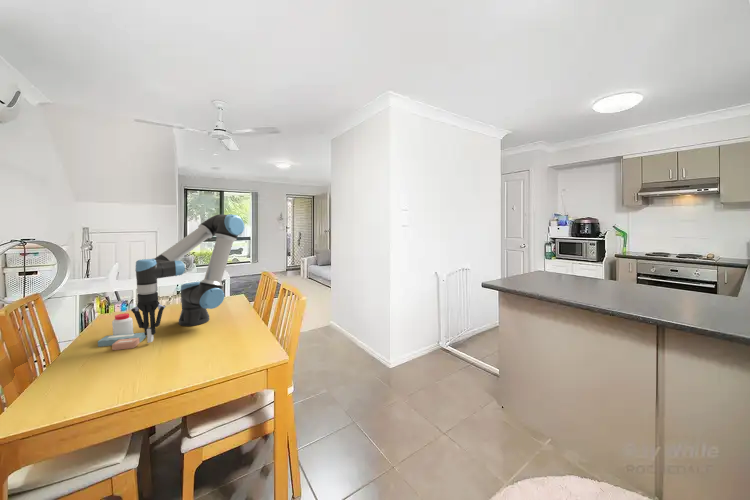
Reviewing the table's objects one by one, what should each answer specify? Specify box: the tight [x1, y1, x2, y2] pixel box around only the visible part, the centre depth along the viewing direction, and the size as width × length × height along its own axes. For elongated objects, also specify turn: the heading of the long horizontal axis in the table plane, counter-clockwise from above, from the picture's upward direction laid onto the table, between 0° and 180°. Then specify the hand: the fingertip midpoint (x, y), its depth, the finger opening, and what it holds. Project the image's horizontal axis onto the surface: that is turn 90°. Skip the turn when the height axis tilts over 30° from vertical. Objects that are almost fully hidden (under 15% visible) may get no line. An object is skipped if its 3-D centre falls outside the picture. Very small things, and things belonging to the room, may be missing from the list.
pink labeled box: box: [111, 338, 141, 351], centre depth 135 cm, size 8×6×3 cm
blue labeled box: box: [97, 331, 147, 348], centre depth 140 cm, size 16×7×3 cm, turn 109°
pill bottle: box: [111, 312, 134, 335], centre depth 147 cm, size 8×8×11 cm
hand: (150, 341), depth 138 cm, fingers closed
